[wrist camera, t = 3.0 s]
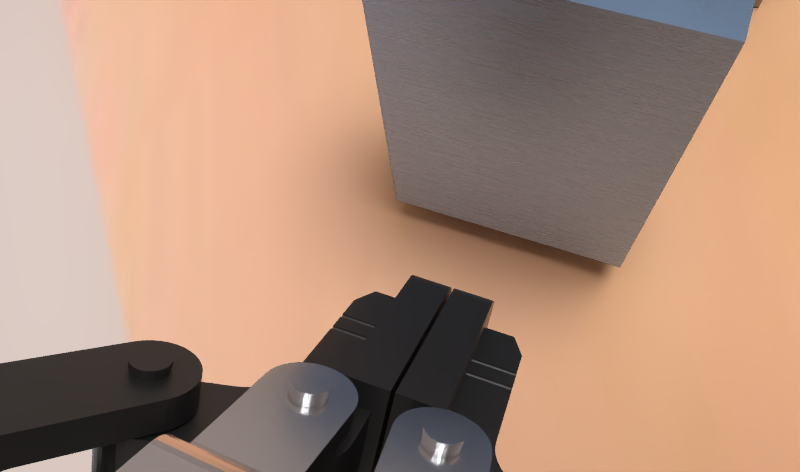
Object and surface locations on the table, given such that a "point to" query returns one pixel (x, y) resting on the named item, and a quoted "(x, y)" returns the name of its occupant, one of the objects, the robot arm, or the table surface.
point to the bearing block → (757, 3)
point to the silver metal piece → (547, 108)
